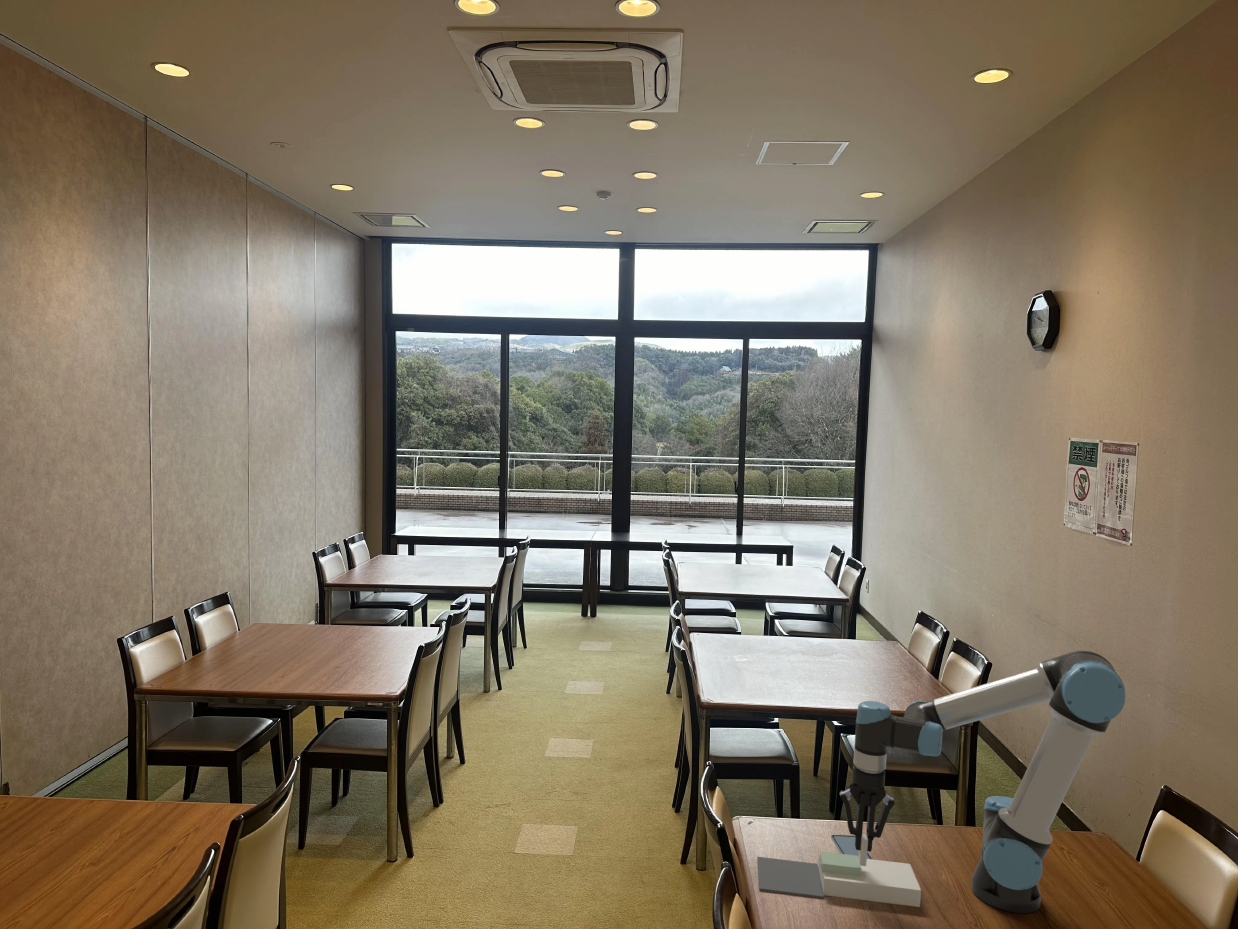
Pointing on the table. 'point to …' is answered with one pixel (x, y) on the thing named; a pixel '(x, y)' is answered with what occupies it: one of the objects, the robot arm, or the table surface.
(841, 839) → the smartphone
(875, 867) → the board
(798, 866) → the mat
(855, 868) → the tile
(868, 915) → the table surface
